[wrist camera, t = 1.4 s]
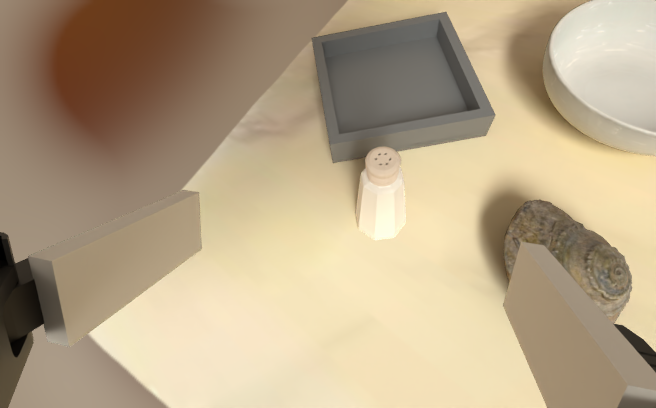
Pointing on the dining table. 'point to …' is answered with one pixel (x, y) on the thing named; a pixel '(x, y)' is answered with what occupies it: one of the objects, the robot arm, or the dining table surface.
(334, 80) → the parts tray
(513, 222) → the fossilized seashell
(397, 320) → the dining table surface
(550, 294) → the robot arm
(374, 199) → the salt shaker
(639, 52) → the serving bowl
